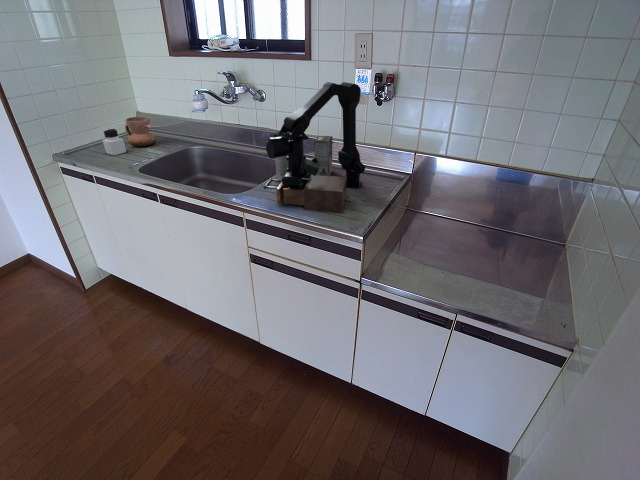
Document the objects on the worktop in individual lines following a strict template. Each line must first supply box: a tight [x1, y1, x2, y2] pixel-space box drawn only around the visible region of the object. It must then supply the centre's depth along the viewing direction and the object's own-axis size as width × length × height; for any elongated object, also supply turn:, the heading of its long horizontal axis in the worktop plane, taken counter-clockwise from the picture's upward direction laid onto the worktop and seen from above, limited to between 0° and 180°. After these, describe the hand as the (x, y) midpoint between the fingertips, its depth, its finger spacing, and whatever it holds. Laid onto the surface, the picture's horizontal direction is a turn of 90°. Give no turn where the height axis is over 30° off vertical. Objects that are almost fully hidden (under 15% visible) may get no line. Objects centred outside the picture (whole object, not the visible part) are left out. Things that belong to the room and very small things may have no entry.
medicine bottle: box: [101, 128, 127, 156], centre depth 190 cm, size 7×7×12 cm
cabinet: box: [303, 175, 347, 213], centre depth 137 cm, size 14×14×8 cm
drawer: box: [263, 177, 309, 206], centre depth 139 cm, size 18×13×6 cm
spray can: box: [273, 130, 291, 180], centre depth 154 cm, size 7×7×20 cm
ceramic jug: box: [124, 116, 157, 148], centre depth 202 cm, size 18×14×14 cm
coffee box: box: [313, 135, 333, 176], centre depth 161 cm, size 9×6×16 cm
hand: (297, 193), depth 139 cm, fingers closed on tea tin, 4 cm apart
